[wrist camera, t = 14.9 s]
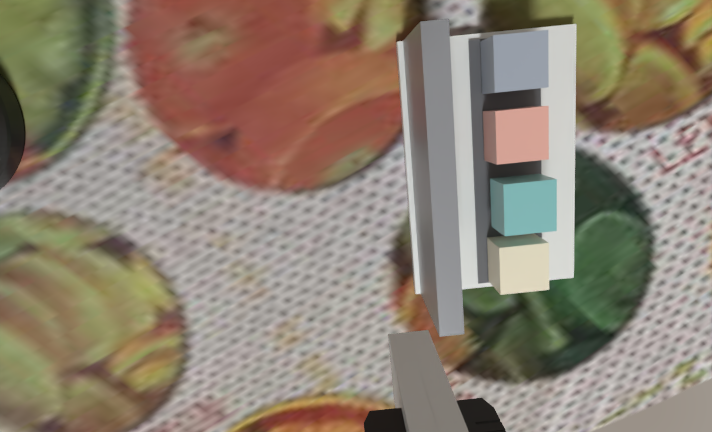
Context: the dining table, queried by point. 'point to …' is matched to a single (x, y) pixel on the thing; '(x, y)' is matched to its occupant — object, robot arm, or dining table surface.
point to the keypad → (473, 160)
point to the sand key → (518, 263)
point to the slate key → (514, 62)
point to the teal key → (523, 204)
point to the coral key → (516, 134)
